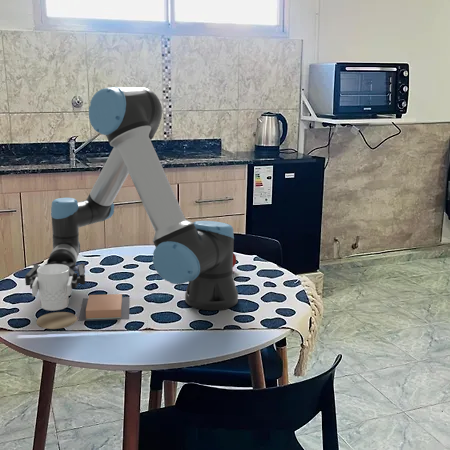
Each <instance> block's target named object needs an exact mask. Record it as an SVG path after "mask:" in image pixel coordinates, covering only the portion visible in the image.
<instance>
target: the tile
mask: <svg viewBox="0 0 450 450" xmlns="http://www.w3.org/2000/svg"><path fill="white" fill-rule="evenodd" d="M122 297H123V293H114V294H113V293H110V294H89V295H88V297H87V298H88V302H87V307H86V319H113V318H121V313H122Z"/></svg>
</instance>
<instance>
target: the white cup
mask: <svg viewBox="0 0 450 450" xmlns="http://www.w3.org/2000/svg"><path fill="white" fill-rule="evenodd" d="M37 276H38V287H39V290H38V293H39V299H40V300H39V301H40V306H41V309H43V310H45V311H51V312H52V311H53V312H54V311H60V310H64V309H66V308H68V306H69V302H70V301H69V300H70V298H69V296H67V283H68V280H69V267H68V266H66V265H63V264H48V265H45V264H44V265H40V267H39V268H38V269H37Z"/></svg>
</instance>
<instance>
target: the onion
mask: <svg viewBox="0 0 450 450" xmlns="http://www.w3.org/2000/svg"><path fill="white" fill-rule="evenodd" d="M236 263H237V255H235V253H234V252H233V268H234V267H235V266H236Z"/></svg>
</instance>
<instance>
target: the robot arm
mask: <svg viewBox="0 0 450 450" xmlns="http://www.w3.org/2000/svg"><path fill="white" fill-rule="evenodd" d="M89 103H90V105H89V106H88V119H89V120H88V121H89V123H90V125H91V127H92V129H93V130H94V131H95V132H97V133H99V134H101V135H103V136H105V137H106V139H107V141H108V143H109V145H110V146H111V147H113V148H112V150H111V151H110V154H109V155H108V158H107V159H106V161H105V164H104V165H103V167H102V169H101V171H100V173H99V175H98V177H97V179H96V181H95V182H94V184H93V186H92V188H91V190H90V193H89V194H88V195H87V198H86V199H85V200H81V201H78V200H77V199H76V198H73V197H59V198H55V199H53V200H52V202H51V207H50V211H51V212H50V216H51V228H52V230H51V231H52V251H51V252H50V254H49V257H48V259H47V261H46V263H44V265H48V264H63V265H66V266H68V267H69V280H68V283H67V296H68V297H69V296H71V294H72V291H73V289H76V288H77V287H78V286H79V284H80V285H85V284H86V264H85V263H83V262H82V263H80V264H78V265H76V264H77V261H78V256H79V255H80V253H81V244H80V241H79V240H80V238H79V236H80V234H79V231H80V229H79V228H83V227H86V226H90V225H92V224H96V223H101V222H103V221H104V222H105V221H106V220H108V219H110V218H111V217H113V215H114V214H115V213H114V212H115V205H114V201H115V199H116V197H117V196H118V194H119V192H120V190H121V189H122V186H124V185H123V184H124V183H125V182H126V179H127V178H128V176H130V177H131V180H132V182H133V185H134V187H135V189H136V192H137V193H138V194H137V195H138V196H139V198H140V201H141V203H142V205H143V208H144V210H145V211H146V215H147V216H148V219H149V221H150V223H151V225H152V228H153V231H154V236H153V238H152V242H153V244H154V246H155V248H154V250H153V253H152V254H153V255H152V256H153V257H152V264H153V268H154V269H155V271H156V273H157V274H158V275H159V277H161V279H163V280H164V281H165V282H169V283H170V284H172V285H173V284H174V285H182V284H186V283H187V284H188V285H187V286H186V290H185V295H184V296H185V297H184V301H185V303H186V305H188V306H189V307H191V308H194V309H198V310H204V311H222V310H227V309H230V308H233V307H234V306H237V304H238V302H239V301H238V300H239V293H238V289H237V286H236V283H235V280H234V275H233V273H234V272H233V270H234V269H233V268H234V267H233V253H234V244H235V241H234V240H235V237H234V228H233V226H232V225H231V224H228V223H226V222H220V221H215V220H214V221H213V220H196V221H191V220H188V219H186V217H185V215H184V212H183V210H182V208H181V206H180V203H179V200H178V199H177V196H176V194H175V192H174V190H173V188H172V186H171V182H170V181H169V179H168V176H167V174H166V172H165V170H164V168H163V165H162V163H161V161H160V159H159V157H158V154H157V152H156V150H155V148H154V145H153V143H152V141H151V140H153V139H154V137H155V134H156V133H157V131H158V129H159V126H160V124H161V120H162V118H163V117H162V116H163V107H162V102H161V101H160V99H159V97H158V95H157V94H155V92H153V90H151V89H149V88H147V87H143V86H130V87H129V86H110V87H105V88H101V89H99V90H97V92H95V94H94V95H93V96H92V97H91V100H90V102H89ZM39 267H41V265H39V264H38V263H34V264H33V266H32V268H31V269H30V270H29V271H28V272H27V273H26V274H25V275H24V279H25V286H29V287H30V288H29V289H30V290H31V293H32V294H31V296H32V297H37V294H38V293H39V287H38V276H37V269H38V268H39Z"/></svg>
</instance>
